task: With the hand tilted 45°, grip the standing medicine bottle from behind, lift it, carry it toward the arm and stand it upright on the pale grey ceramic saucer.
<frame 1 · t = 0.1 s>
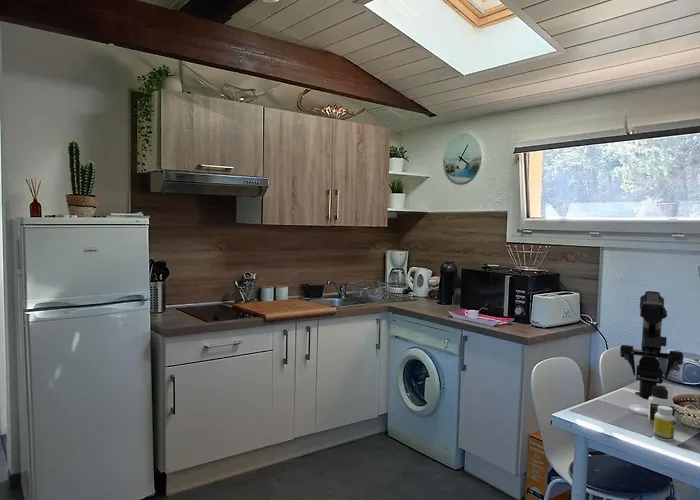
hand: (649, 378, 173), 15 cm above the table, tool tilted 35°, fingers open, 9 cm apart
medicine bottle: (660, 422, 173), on the table
saucer: (642, 411, 183), on the table
supplement bottle: (663, 438, 159), on the table
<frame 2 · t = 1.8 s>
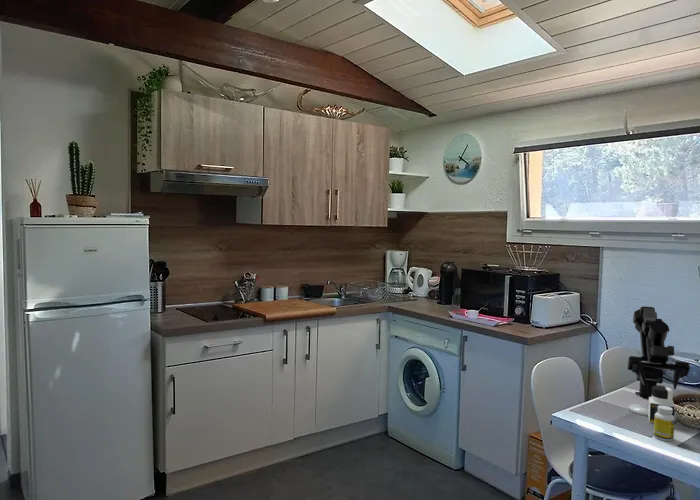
hand: (659, 386, 177), 11 cm above the table, tool tilted 45°, fingers open, 9 cm apart
nothing on the table moved.
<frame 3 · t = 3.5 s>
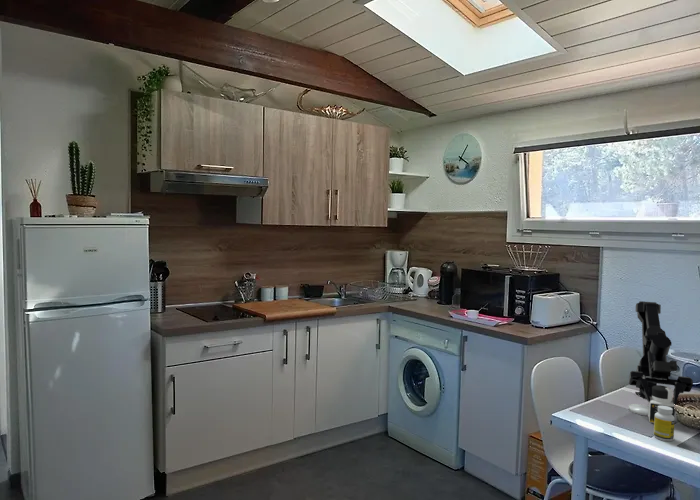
hand: (662, 403, 172), 7 cm above the table, tool tilted 45°, fingers closed on medicine bottle, 7 cm apart
medicine bottle: (660, 422, 173), on the table, touching gripper
everything else where it was.
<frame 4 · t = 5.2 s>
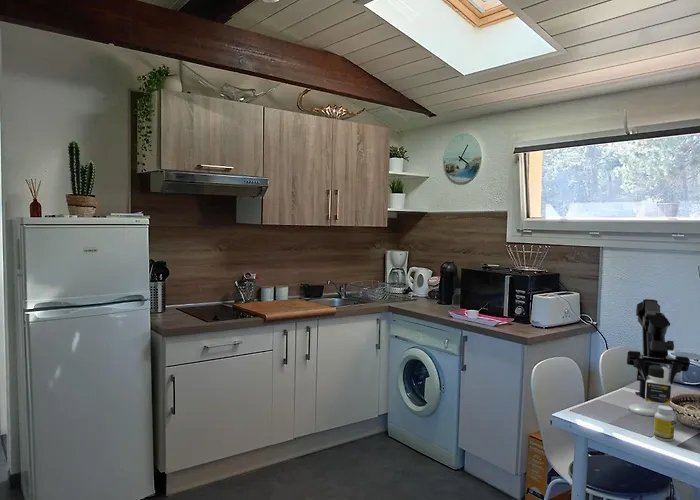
hand: (658, 382, 174), 13 cm above the table, tool tilted 45°, fingers closed on medicine bottle, 7 cm apart
medicine bottle: (657, 401, 175), point 6 cm above the table, touching gripper
everything else where it was.
when the fingers open (9 cm above the table, at t = 7.4 s): medicine bottle drops 1 cm, resting on saucer.
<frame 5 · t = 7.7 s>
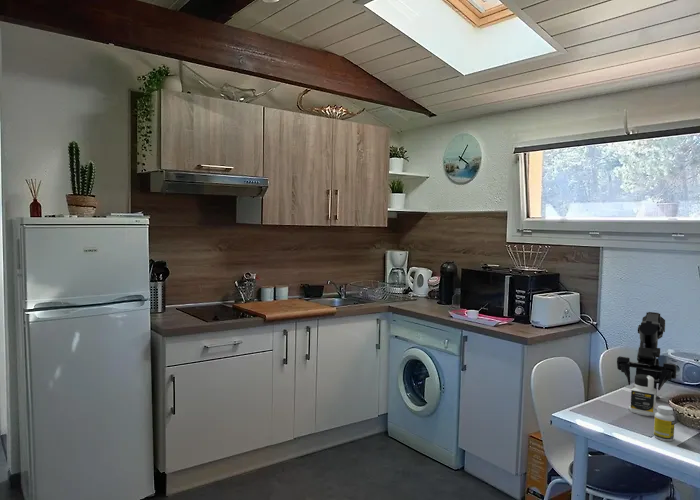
hand: (643, 387, 181), 9 cm above the table, tool tilted 45°, fingers open, 9 cm apart
medicine bottle: (642, 408, 183), point 1 cm above the table, touching saucer
everything else where it was.
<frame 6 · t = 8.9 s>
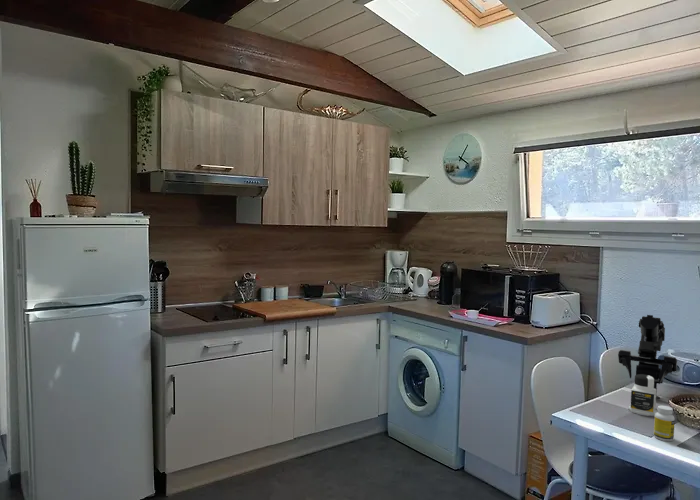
hand: (644, 380, 184), 11 cm above the table, tool tilted 45°, fingers open, 9 cm apart
nothing on the table moved.
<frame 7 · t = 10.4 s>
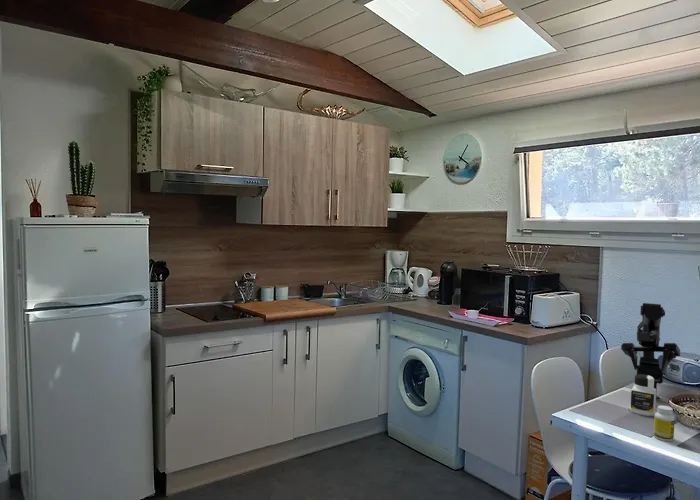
hand: (648, 370, 189), 14 cm above the table, tool tilted 35°, fingers open, 9 cm apart
nothing on the table moved.
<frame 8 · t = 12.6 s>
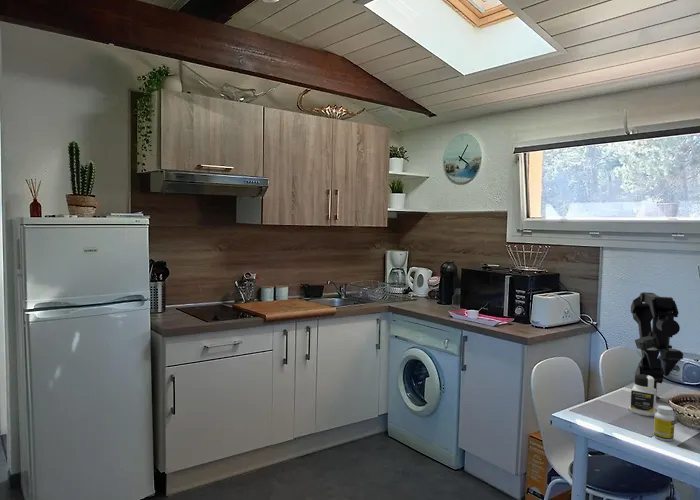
hand: (658, 372, 188), 13 cm above the table, tool pointing down, fingers open, 9 cm apart
nothing on the table moved.
at the end: medicine bottle 0.2 cm off-centre on the saucer, point 1.0 cm above the saucer's base; medicine bottle tilted 0°; the gripper is holding nothing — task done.
